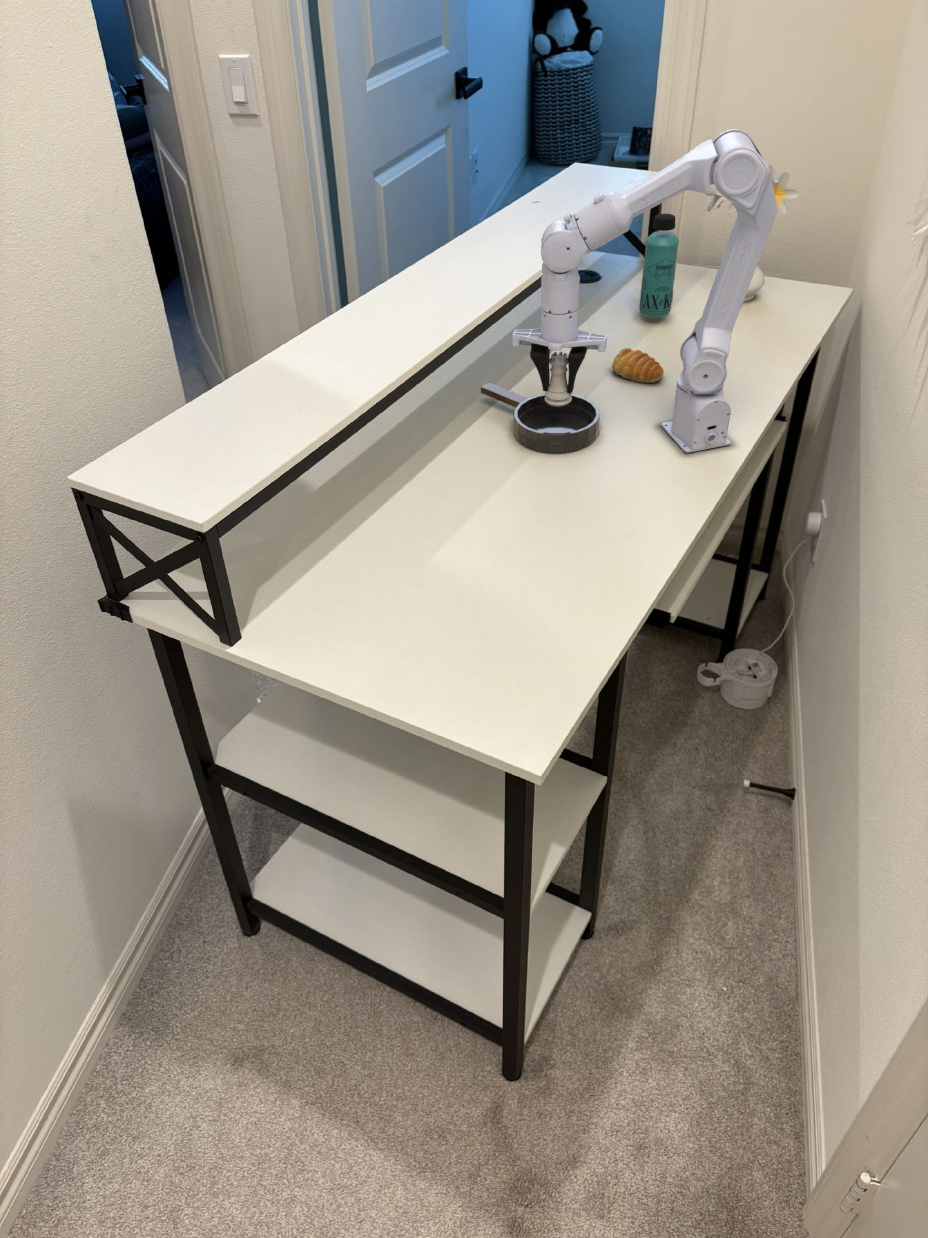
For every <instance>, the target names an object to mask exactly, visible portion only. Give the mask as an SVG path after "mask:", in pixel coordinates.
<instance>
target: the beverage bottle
mask: <svg viewBox="0 0 928 1238" xmlns="http://www.w3.org/2000/svg"><path fill="white" fill-rule="evenodd" d="M652 228H653V229H654V230H656V231H654V232H652V233H651V234H650V235H649V236H648V237H646V239H645V250H644V251H645V252H644V258H643V259H644V262H643V269H642V276H641V284H640V285H641V288H640V297H639V300H638V302H639V305H638V309H639V313H640V314H641V315H642V316H645V317H648V318H663V317H666V316H668V315H669V314H670V312H671V311H672V303H673V299H674V292H675V291H674V290H675V289H674V285H675V278H676V269H677V257H678V249H679V242H680V240H679V237H678V236H677V235H676V234H674V232H671V231H673V230H674V229H675V228H676V216H675V215H674V214H671V213H657V214H656V215H655V216H654V219H653V223H652Z"/></svg>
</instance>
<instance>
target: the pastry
mask: <svg viewBox="0 0 928 1238" xmlns="http://www.w3.org/2000/svg"><path fill="white" fill-rule="evenodd" d="M611 369H612V370H613V371H614V373H615V374H616V375H617V376H619V375H620V376H621V377H622V378H624V379H627V380H631V381H633V382H637V383H642V384H645V383H656V382H657V381H659V380H661V379H662V377H663V375H664V374H665V373H664V372H665V371H664V367H662V366H661V364H660V362H658V361H656V359H655V358H654V357H651V356H650V355H649V354H648V352H643V351H642V350H640V349H635V350H633V349H632V348H630V347H625V348H622V349H621V350H620V351H619V352H618V353H617V354H616V355H615V357H614V359H613V361H612V363H611Z"/></svg>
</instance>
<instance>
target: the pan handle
mask: <svg viewBox="0 0 928 1238" xmlns="http://www.w3.org/2000/svg"><path fill="white" fill-rule="evenodd" d="M480 394H482V395H485V396H487V397H490V398H492V399H494V400H497V401H499V402H501V403H504V404H507V405H509V406H511V407H513V408H515V409H516V407H517V406H518V405H519V404H520V403H521V402H523V401H524V400H526V399H528V398H529V397H526V396H523V395H521V394H518V393H516V392H513V391H511V390H509V389H506V388H504V387H501V386H500V385H497V384H494V383H493V382H487V383H485V384H484V385H481V386H480ZM529 407H530V401H528V402H527V403H526V409H527V408H529Z"/></svg>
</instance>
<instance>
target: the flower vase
mask: <svg viewBox="0 0 928 1238" xmlns="http://www.w3.org/2000/svg"><path fill="white" fill-rule="evenodd" d="M768 168H769V170H770V176H771V181H772V185H773V190H774V194H775V199H776V203H777V212H778V213H779V215H781V216H786V215H787V212H788V206H787V203H786V201H793V200H796V199H797V198H799V196H800V192H799V191H798V190H797V189H794V188H789V187H788V185H789V182H790V178H791V177H790V173H789V172H788V171H784V172H781V173H780V174H779V175H778V176H777V172H776V169H775V167H774V166H773V165H772V164H769V165H768ZM710 188H711V194H705V195H706V196H709V197H710V198H709V200H708V202H707V205H706V211H707V212H710V211H711V210H712V209H714V210H715V209H716V208H717V209H720V208H721V205H722V203H724V202H727V200H728V199H727V198H725V197H724V196H723V195H722V194H721V193H720V192H719V191H718V190H717V189H716V187H715V184H713V185H710ZM736 213H738V212H737V211H736V209H735V207H734V205H733V203H732V202H730V204H729V205H728V206H727V208H726V214H727V215H734V214H736ZM764 285H765V275H764V273H763V271H762V269H761V267H759V265H758V264H757V267H756V269H755V272H754V275H753V277H752V280H751V283H750V285H749V288H748V290H747V293H746V296H745V298H744V301H743V303H744V302H749V301H751V300H753V299H754V297H755V294H757V293H758V292H760V291H761V289H762V288H763V287H764Z"/></svg>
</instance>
